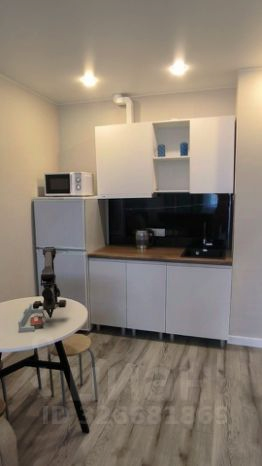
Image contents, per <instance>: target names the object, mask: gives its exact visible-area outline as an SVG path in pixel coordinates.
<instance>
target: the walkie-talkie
mask: <svg viewBox="0 0 262 466" xmlns="http://www.w3.org/2000/svg"><path fill="white" fill-rule="evenodd" d="M29 323H30V325H29V327H30V326H34V328H35V330H38V329H43V328H44V325H45V323H47V318H46V316H45V313H44V312H43V313H42V315H37V314H36V315H34V316H33V317H30V319H29Z"/></svg>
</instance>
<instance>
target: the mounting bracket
mask: <svg viewBox="0 0 262 466" xmlns="http://www.w3.org/2000/svg"><path fill="white" fill-rule="evenodd" d="M43 313H44V310H43V307H42V308H40V307H39V308H38V309H33V304H32V303H28V306H27V307H26V308H25V309H24V311H23V314H22V315H21V316H20V319H18V320H19V321H17V323H18V333H29V332H30V333H31V332H35V330H36V329H35V328H34V326H30V325H29V326H26V325H27V323H28V322H29V320H30V319H31V316H32V314H43Z"/></svg>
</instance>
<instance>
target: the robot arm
mask: <svg viewBox="0 0 262 466" xmlns="http://www.w3.org/2000/svg"><path fill="white" fill-rule="evenodd" d="M57 254H58V253H57V248H56V247H55V246H44V248H42V255H43V258H44V266H43V269H42V270H41V274H40V286H41V287H43V289H42V292H41V296H42V298H43V301H42V300H35V301H34V302H33V304H32V309H40V307H42V308H43V311H45V312H46V313H47V315H48V318H49V319H52V317H53V313H54V310H56V309H57V307H58V308H59V309H61V308H62V309H63V308H66V307H67V304H68V303H67V300H66V299H58V298H59V297H61V290H60V288H59V287H58V284H57V278H56V277H57V276H56V274H55V273H56V272H55V262H54V261H55V259H56V256H57Z"/></svg>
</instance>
